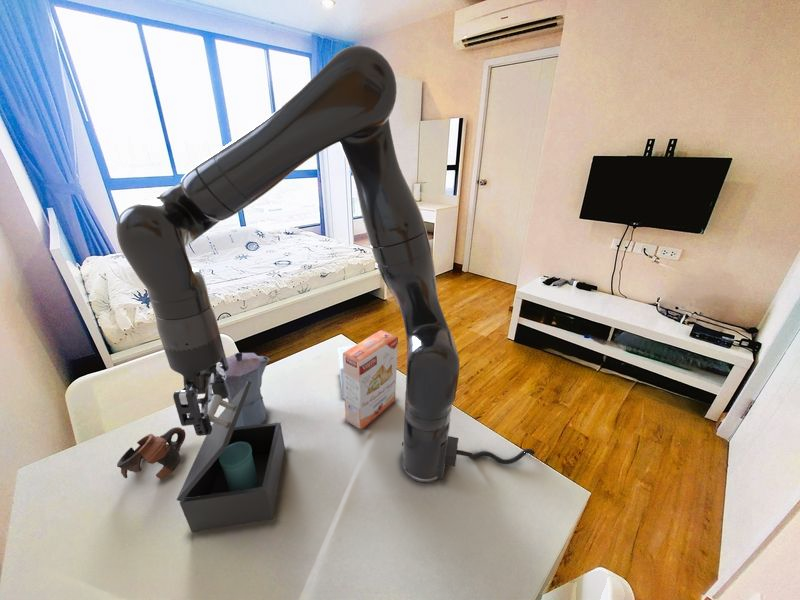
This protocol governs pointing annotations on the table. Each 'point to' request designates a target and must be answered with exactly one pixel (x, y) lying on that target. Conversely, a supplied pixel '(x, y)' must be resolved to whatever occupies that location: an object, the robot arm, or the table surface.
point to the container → (239, 466)
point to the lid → (215, 437)
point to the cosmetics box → (340, 359)
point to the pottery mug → (154, 453)
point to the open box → (227, 508)
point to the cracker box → (370, 378)
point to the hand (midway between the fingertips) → (214, 414)
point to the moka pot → (237, 376)
